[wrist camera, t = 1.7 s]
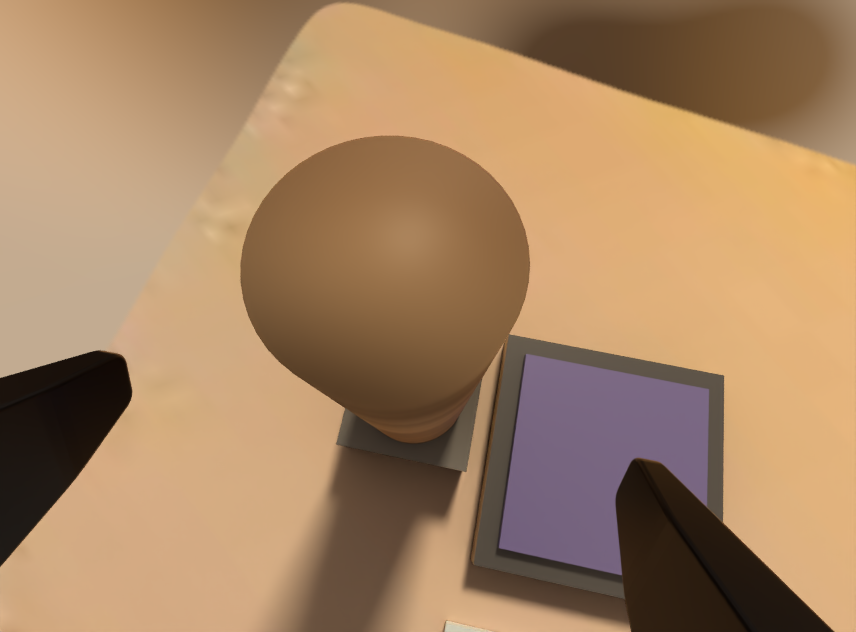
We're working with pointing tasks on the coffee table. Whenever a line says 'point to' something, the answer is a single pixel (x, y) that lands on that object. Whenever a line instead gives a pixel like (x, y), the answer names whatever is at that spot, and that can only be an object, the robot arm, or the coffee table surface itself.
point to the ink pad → (586, 456)
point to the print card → (461, 628)
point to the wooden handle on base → (389, 288)
